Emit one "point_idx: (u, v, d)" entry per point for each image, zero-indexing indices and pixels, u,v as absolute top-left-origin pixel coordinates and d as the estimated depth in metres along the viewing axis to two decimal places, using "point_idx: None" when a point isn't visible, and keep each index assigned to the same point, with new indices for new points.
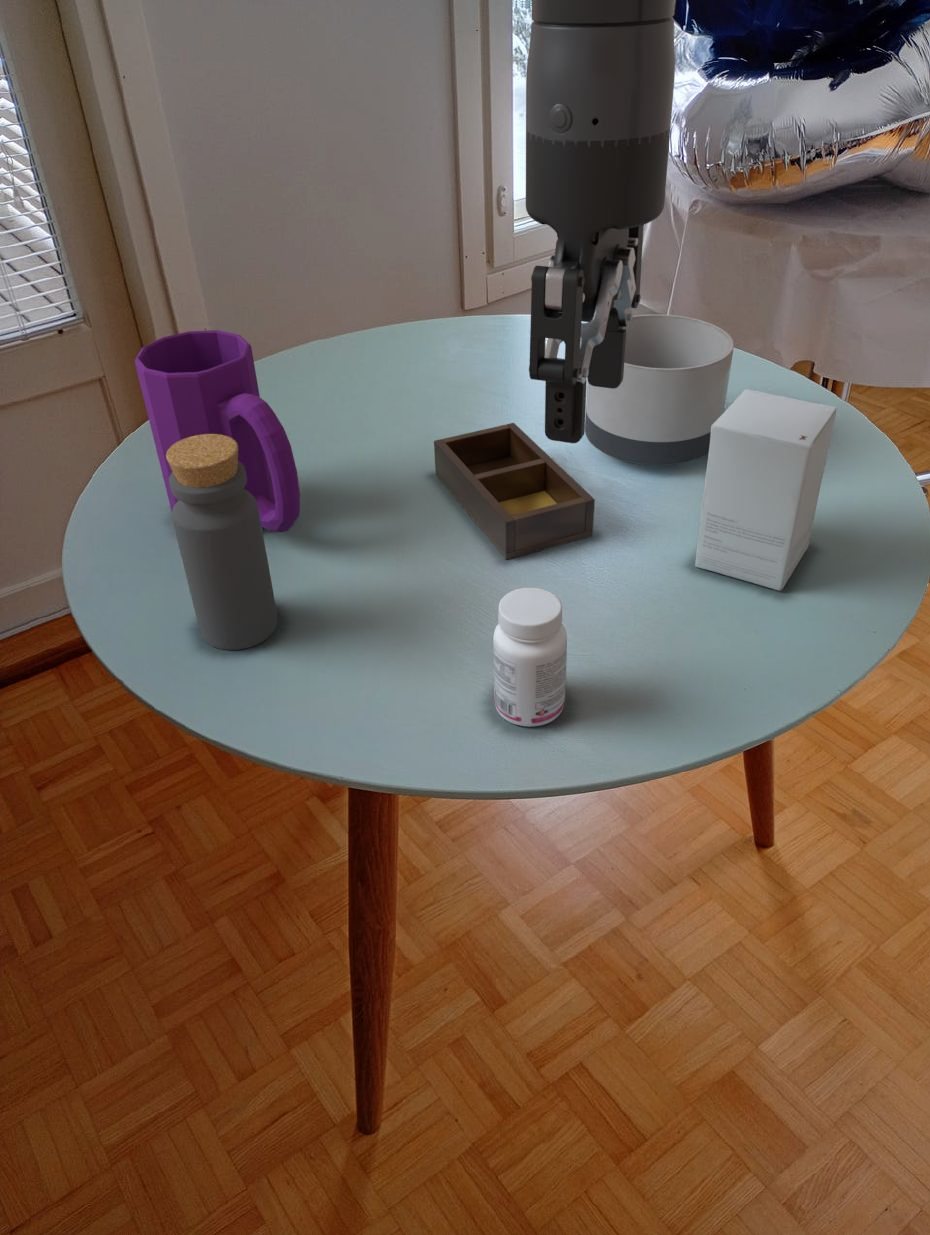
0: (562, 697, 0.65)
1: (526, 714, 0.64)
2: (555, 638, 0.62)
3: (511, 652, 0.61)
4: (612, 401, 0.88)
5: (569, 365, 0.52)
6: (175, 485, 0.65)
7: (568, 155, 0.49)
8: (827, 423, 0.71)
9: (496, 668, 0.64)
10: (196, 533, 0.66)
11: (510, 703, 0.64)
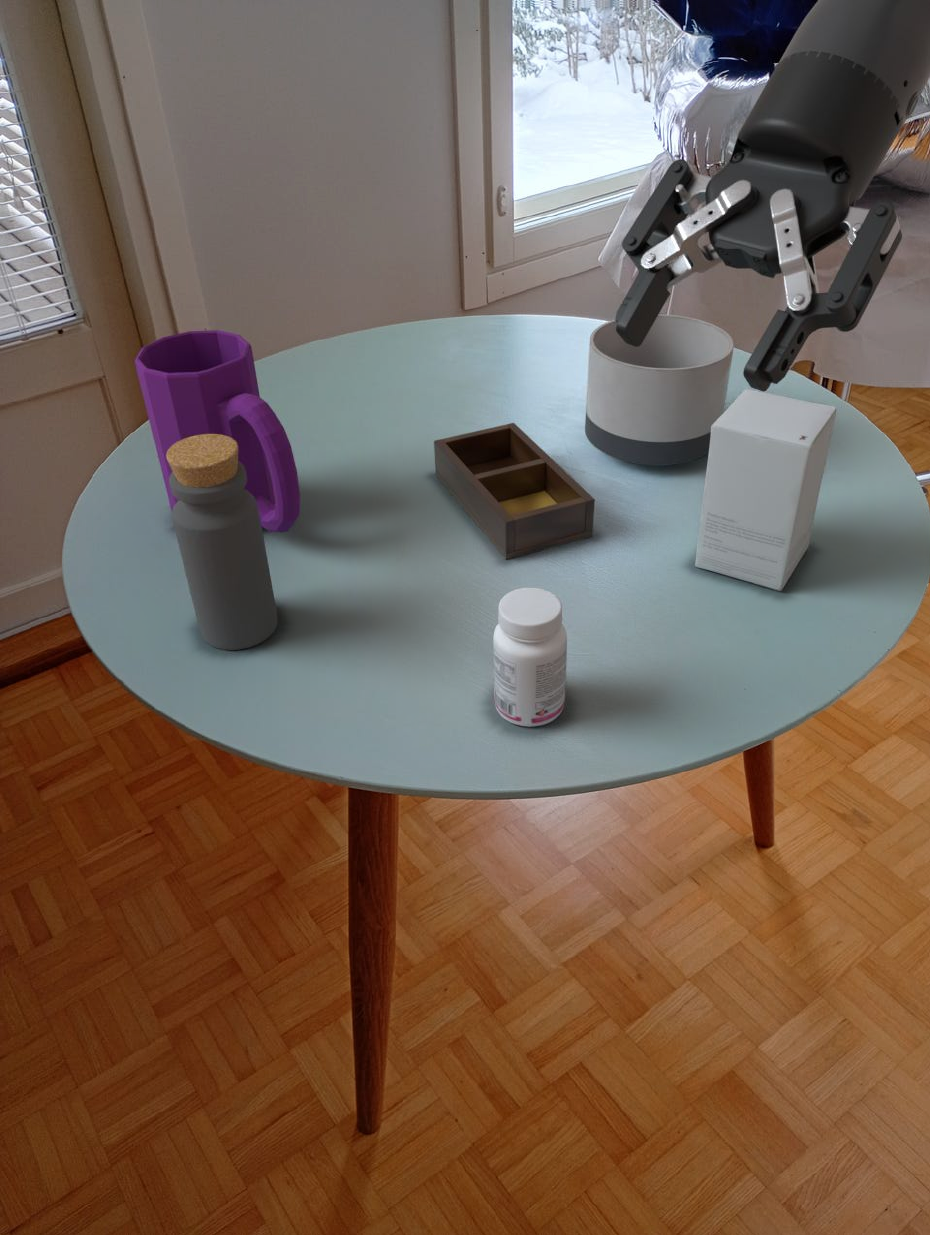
0: (562, 697, 0.65)
1: (526, 714, 0.64)
2: (555, 638, 0.62)
3: (511, 652, 0.61)
4: (612, 401, 0.88)
5: None
6: (175, 485, 0.65)
7: None
8: (827, 423, 0.71)
9: (496, 668, 0.64)
10: (196, 533, 0.66)
11: (510, 703, 0.64)
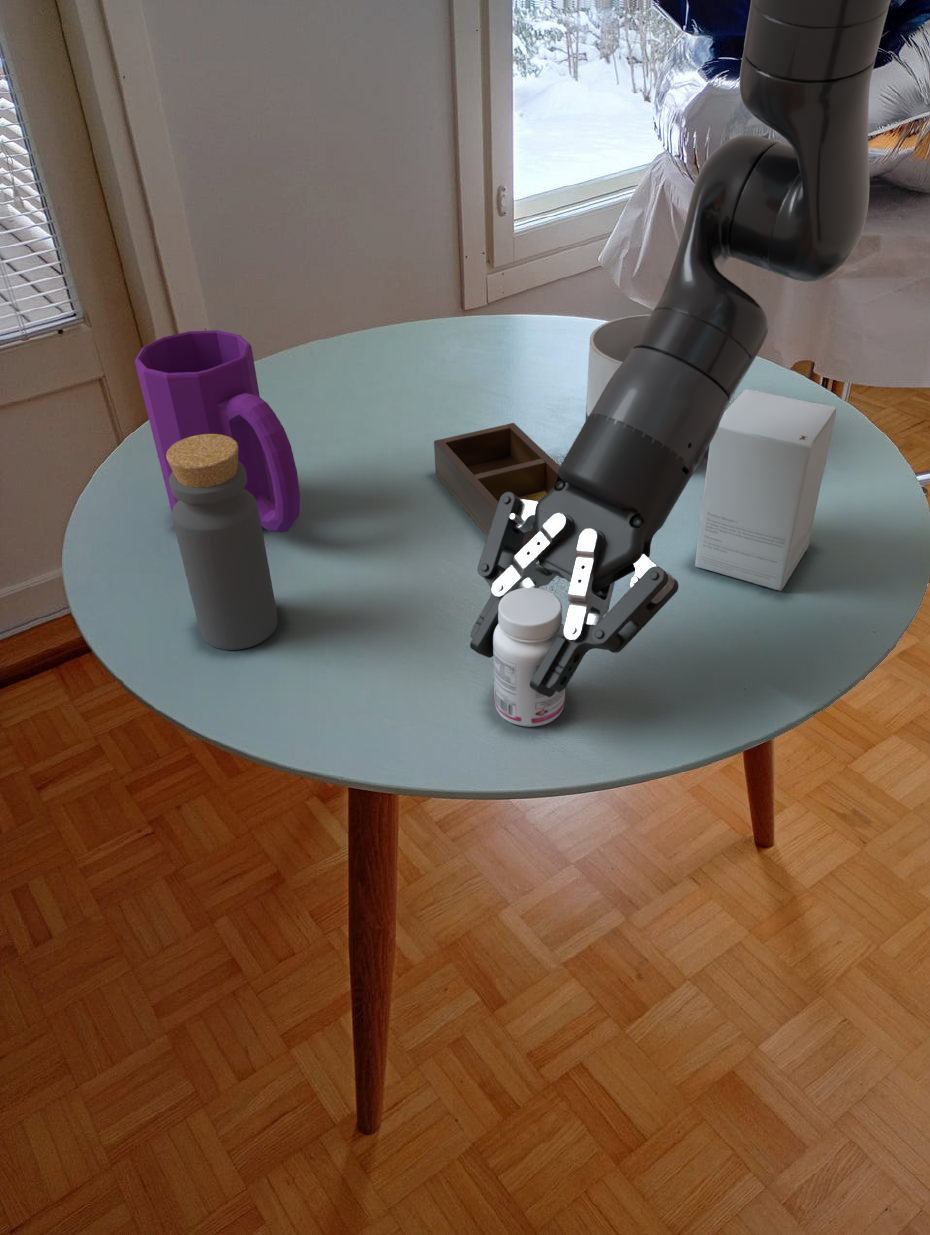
0: (562, 697, 0.65)
1: (526, 714, 0.64)
2: None
3: (510, 652, 0.61)
4: None
5: None
6: (175, 485, 0.65)
7: None
8: (827, 423, 0.71)
9: (496, 668, 0.64)
10: (196, 533, 0.66)
11: (510, 703, 0.64)
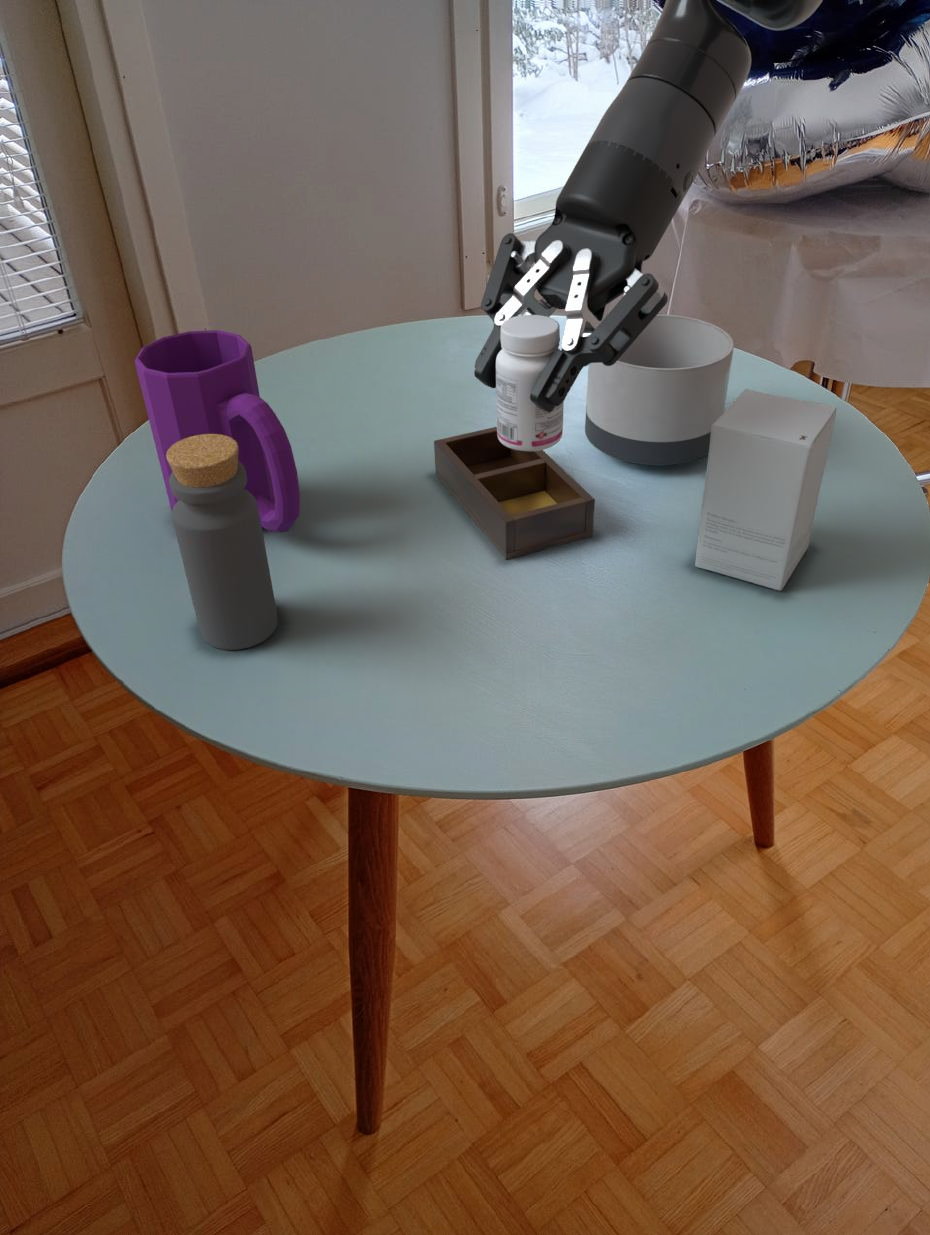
0: (560, 423, 0.69)
1: (527, 437, 0.69)
2: None
3: (512, 368, 0.66)
4: (612, 401, 0.88)
5: None
6: (175, 485, 0.65)
7: None
8: (827, 423, 0.71)
9: (498, 392, 0.68)
10: (196, 533, 0.66)
11: (511, 426, 0.69)
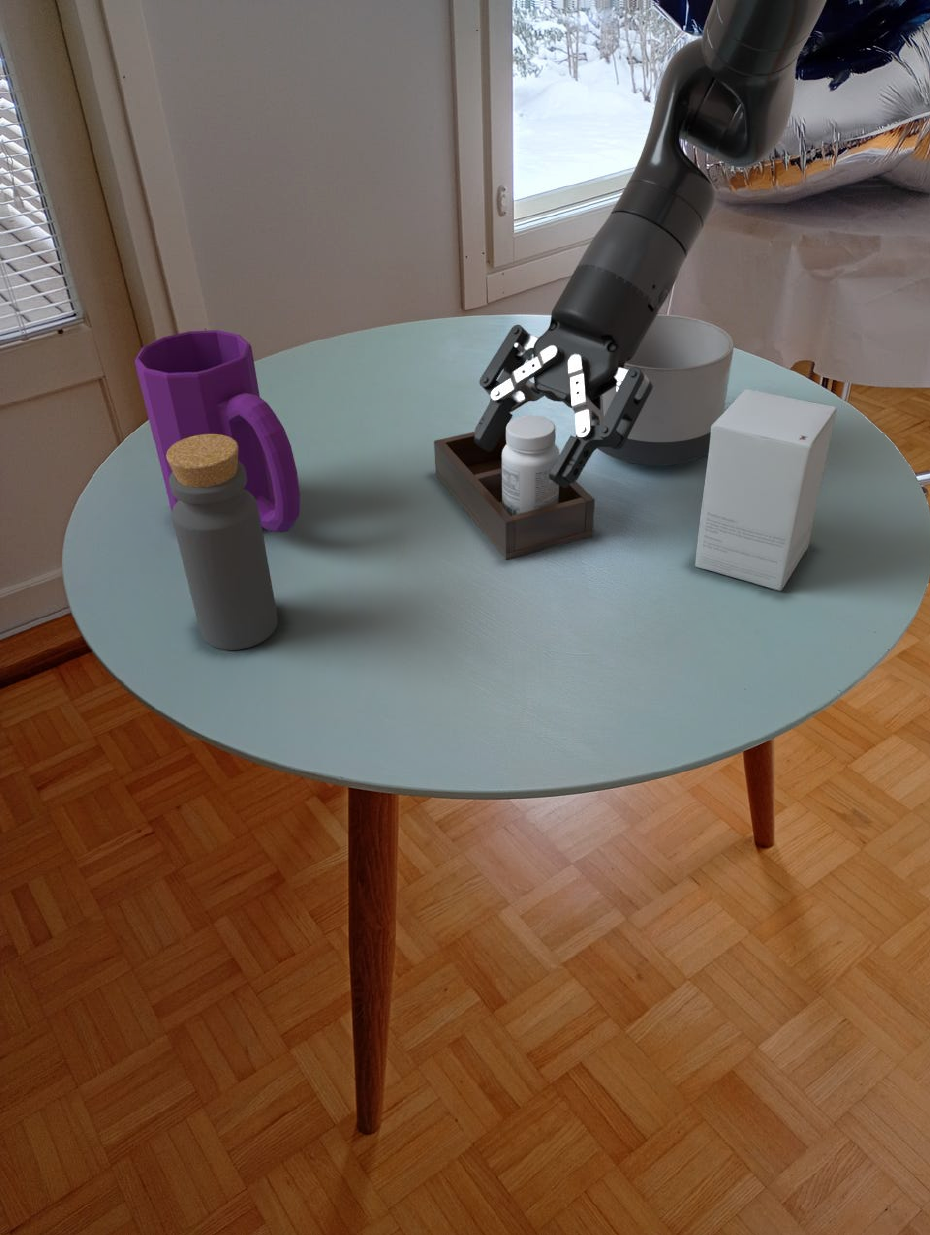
0: None
1: None
2: (550, 452, 0.79)
3: (515, 462, 0.79)
4: None
5: None
6: (175, 485, 0.65)
7: None
8: (827, 423, 0.71)
9: (504, 480, 0.81)
10: (196, 533, 0.66)
11: (515, 508, 0.81)
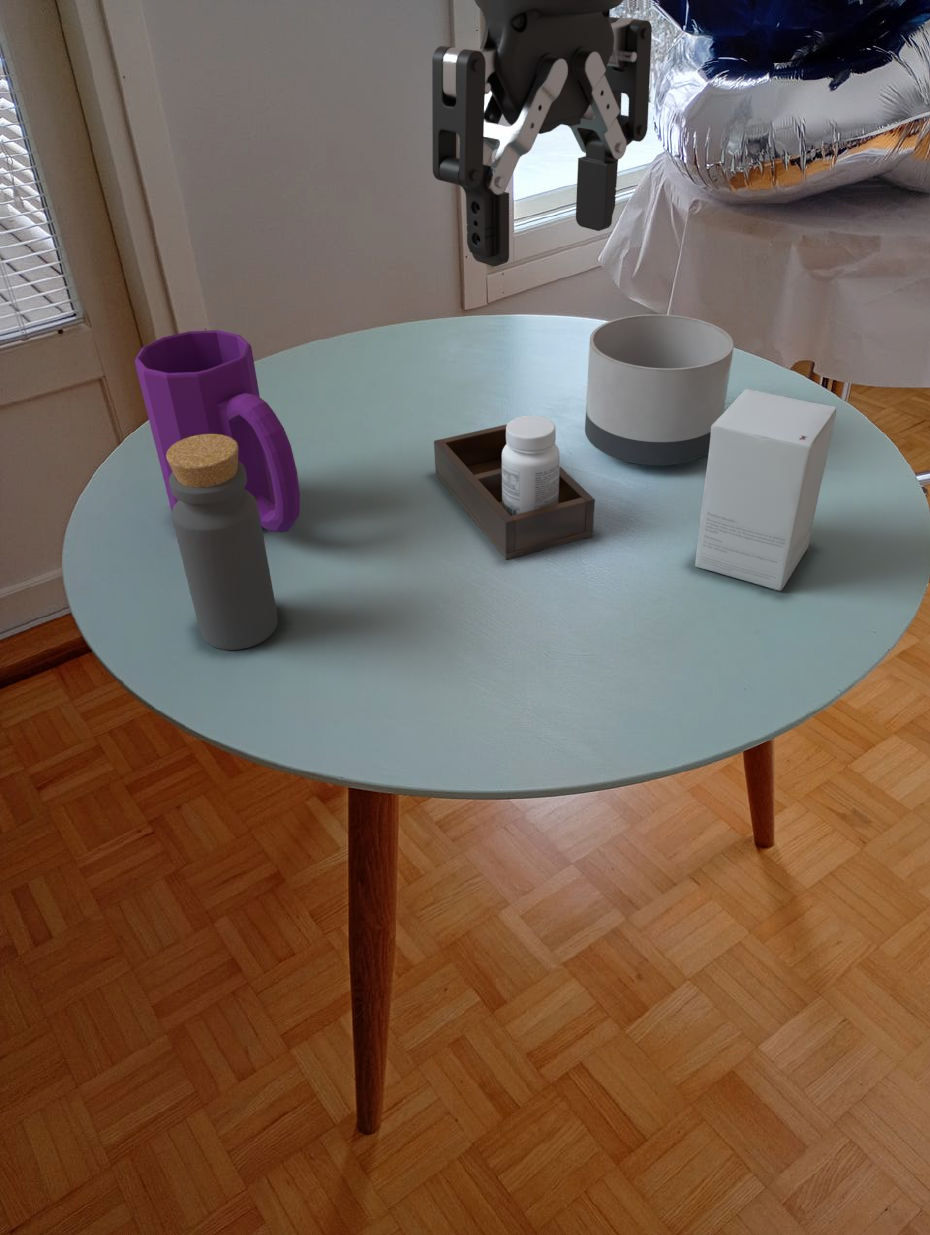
0: None
1: None
2: (550, 452, 0.79)
3: (515, 462, 0.79)
4: (612, 401, 0.88)
5: (462, 163, 0.48)
6: (175, 485, 0.65)
7: None
8: (827, 423, 0.71)
9: (504, 480, 0.81)
10: (196, 533, 0.66)
11: (515, 508, 0.81)
